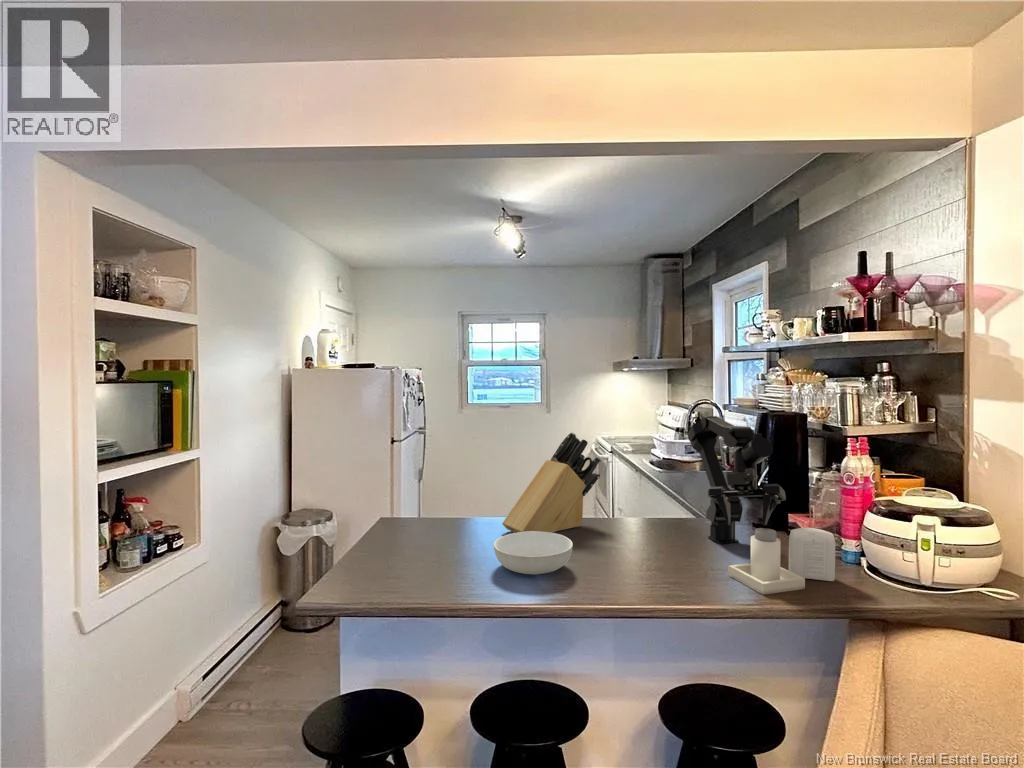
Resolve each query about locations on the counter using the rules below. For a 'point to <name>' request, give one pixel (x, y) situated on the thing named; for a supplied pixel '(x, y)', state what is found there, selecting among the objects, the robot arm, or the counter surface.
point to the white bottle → (765, 555)
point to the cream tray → (785, 583)
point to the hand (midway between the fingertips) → (746, 524)
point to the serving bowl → (533, 551)
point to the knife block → (555, 491)
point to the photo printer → (812, 554)
